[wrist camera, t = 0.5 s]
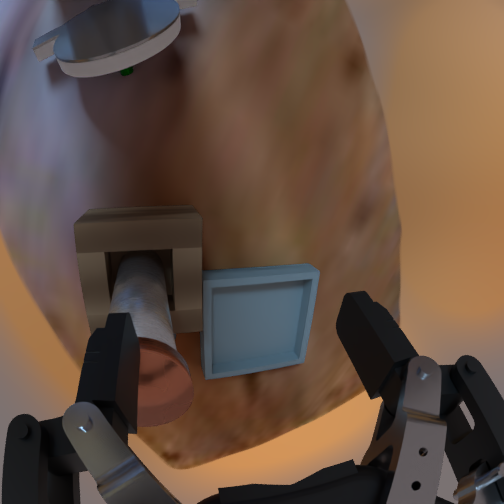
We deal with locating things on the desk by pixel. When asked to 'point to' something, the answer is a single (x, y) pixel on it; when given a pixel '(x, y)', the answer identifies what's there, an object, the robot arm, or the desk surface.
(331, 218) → the desk surface
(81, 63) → the tabbed white plastic disc
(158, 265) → the pin
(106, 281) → the block
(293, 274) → the tray
